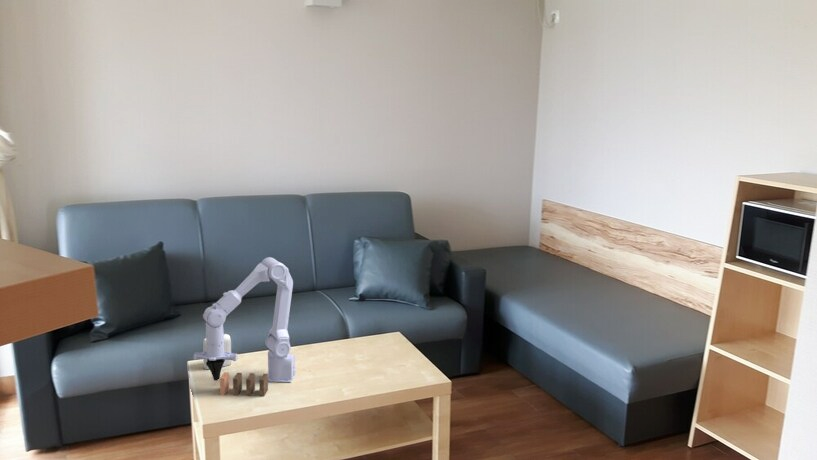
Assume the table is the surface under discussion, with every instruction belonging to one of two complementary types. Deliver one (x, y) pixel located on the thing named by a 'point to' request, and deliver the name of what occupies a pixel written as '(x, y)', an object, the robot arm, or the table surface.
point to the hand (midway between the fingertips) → (216, 379)
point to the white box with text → (226, 349)
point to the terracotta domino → (224, 383)
